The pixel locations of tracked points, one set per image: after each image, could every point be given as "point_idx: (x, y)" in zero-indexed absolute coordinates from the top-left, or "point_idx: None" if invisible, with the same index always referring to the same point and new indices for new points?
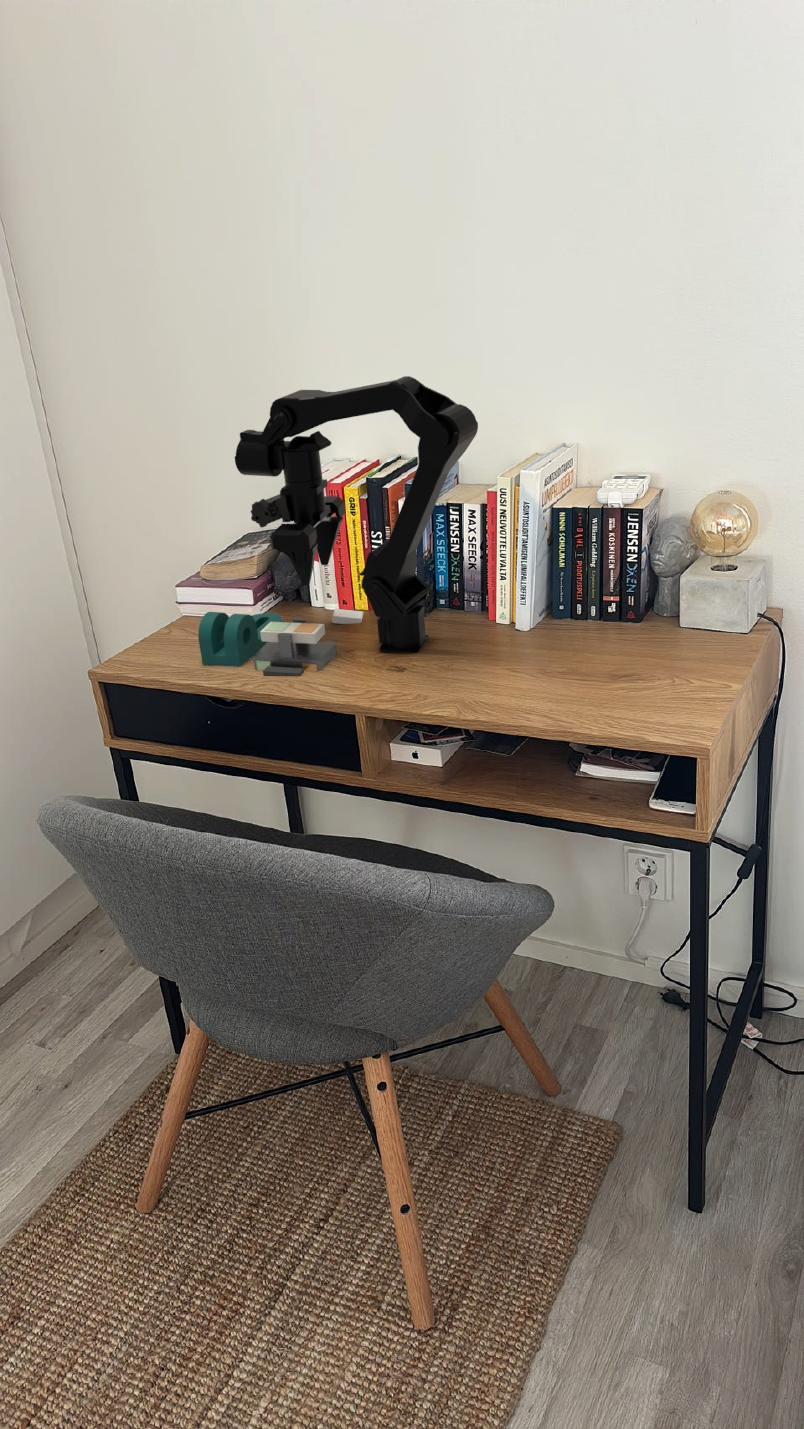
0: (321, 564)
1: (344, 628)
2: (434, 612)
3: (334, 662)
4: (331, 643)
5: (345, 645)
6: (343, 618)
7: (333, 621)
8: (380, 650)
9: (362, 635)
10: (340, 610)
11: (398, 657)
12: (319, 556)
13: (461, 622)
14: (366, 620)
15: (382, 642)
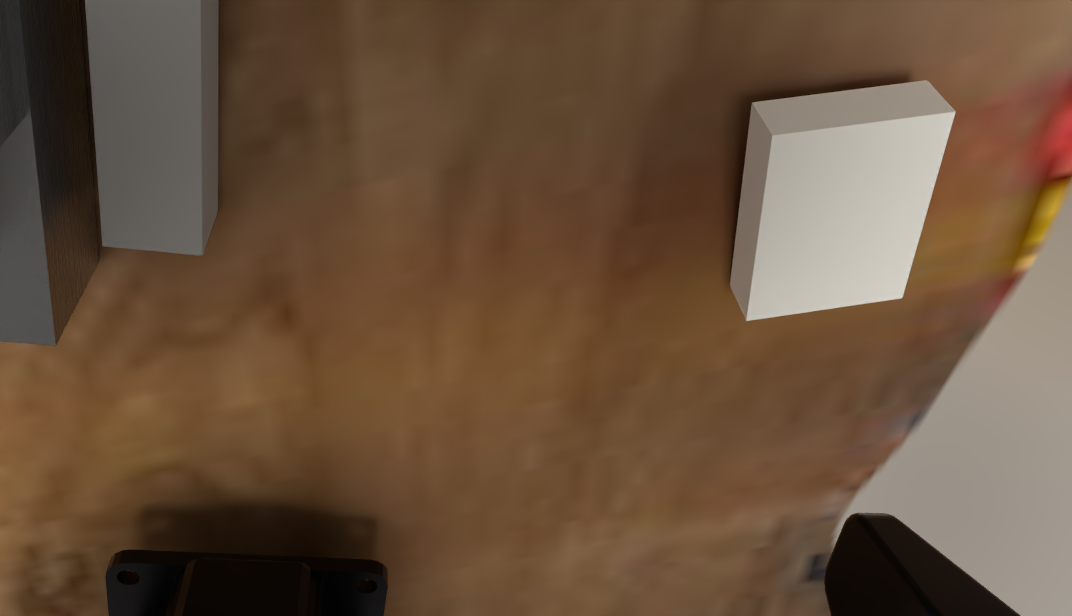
0: (858, 513)
1: (700, 181)
2: None
3: None
4: (20, 319)
5: (374, 255)
6: (758, 205)
7: (754, 117)
8: (109, 566)
9: (555, 325)
10: (917, 157)
11: None
12: (921, 613)
13: None
14: None
15: (176, 586)
